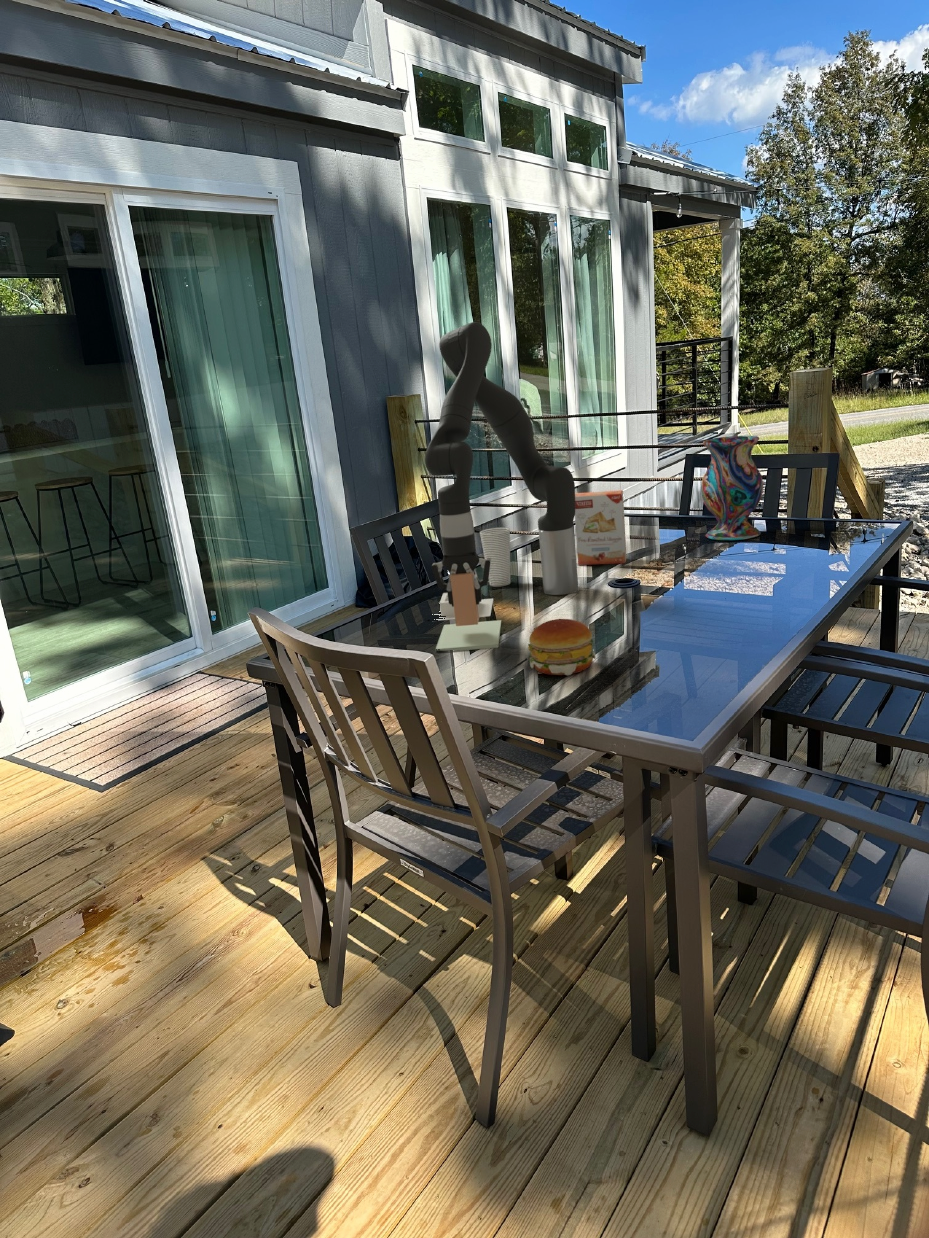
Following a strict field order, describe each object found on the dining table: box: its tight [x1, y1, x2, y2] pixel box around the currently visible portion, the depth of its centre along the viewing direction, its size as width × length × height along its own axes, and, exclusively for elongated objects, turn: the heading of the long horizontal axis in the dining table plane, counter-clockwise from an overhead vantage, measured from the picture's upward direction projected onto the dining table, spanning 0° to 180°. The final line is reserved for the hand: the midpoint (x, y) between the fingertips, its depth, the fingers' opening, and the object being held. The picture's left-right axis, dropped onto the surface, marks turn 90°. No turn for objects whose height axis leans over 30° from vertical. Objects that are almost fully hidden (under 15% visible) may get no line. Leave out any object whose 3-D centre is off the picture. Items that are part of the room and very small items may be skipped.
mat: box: [435, 619, 502, 651], centre depth 200 cm, size 14×18×1 cm
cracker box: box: [574, 489, 627, 566], centre depth 252 cm, size 14×6×21 cm, turn 76°
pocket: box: [432, 592, 494, 621], centre depth 221 cm, size 16×16×4 cm
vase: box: [700, 435, 764, 541], centre depth 266 cm, size 18×18×30 cm
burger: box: [527, 618, 597, 676], centre depth 173 cm, size 14×14×10 cm
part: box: [449, 571, 480, 626], centre depth 198 cm, size 5×5×12 cm
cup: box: [479, 526, 511, 588], centre depth 242 cm, size 8×8×16 cm
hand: (465, 604), depth 198 cm, fingers closed on part, 5 cm apart
